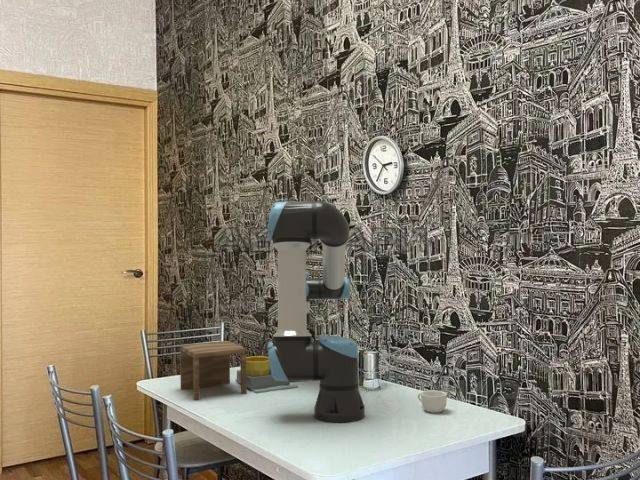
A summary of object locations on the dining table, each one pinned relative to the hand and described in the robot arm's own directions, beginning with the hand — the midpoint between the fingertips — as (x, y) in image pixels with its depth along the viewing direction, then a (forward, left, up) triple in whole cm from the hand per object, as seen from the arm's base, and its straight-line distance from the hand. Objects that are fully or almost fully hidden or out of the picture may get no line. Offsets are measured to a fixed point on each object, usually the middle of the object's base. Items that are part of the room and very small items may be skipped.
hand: (300, 375), depth 235 cm
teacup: (-57, -17, -2) cm, 60 cm away
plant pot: (-1, +17, -2) cm, 18 cm away
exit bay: (0, +14, -2) cm, 14 cm away
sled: (0, +10, -1) cm, 10 cm away
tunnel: (0, +34, -2) cm, 34 cm away
